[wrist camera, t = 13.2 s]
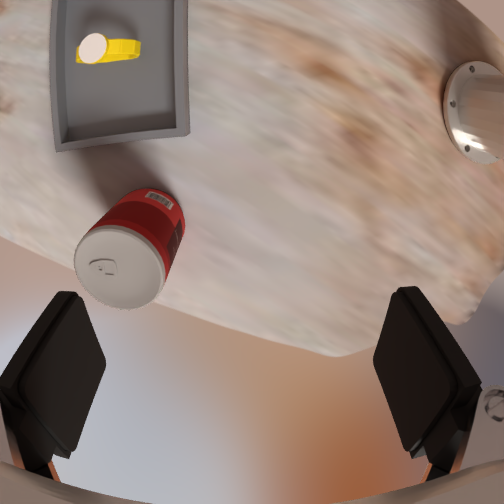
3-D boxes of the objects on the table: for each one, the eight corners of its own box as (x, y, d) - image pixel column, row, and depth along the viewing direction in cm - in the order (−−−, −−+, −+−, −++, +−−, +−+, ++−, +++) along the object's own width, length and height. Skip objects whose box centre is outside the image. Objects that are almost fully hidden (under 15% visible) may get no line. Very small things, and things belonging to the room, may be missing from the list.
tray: (188, -32, 21) (184, -41, 19) (190, 133, 29) (185, 136, 27) (64, -2, 21) (53, -7, 18) (67, 147, 29) (56, 152, 27)
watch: (94, 70, 25) (61, 69, 20) (95, 46, 24) (63, 40, 19) (147, 64, 25) (120, 59, 20) (149, 37, 24) (123, 27, 18)
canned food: (108, 194, 32) (59, 238, 22) (177, 178, 31) (146, 218, 21) (129, 256, 35) (94, 314, 25) (194, 245, 35) (175, 306, 25)
